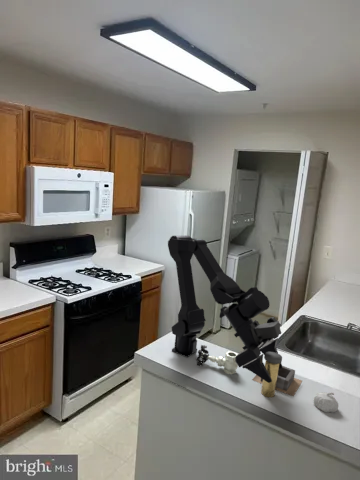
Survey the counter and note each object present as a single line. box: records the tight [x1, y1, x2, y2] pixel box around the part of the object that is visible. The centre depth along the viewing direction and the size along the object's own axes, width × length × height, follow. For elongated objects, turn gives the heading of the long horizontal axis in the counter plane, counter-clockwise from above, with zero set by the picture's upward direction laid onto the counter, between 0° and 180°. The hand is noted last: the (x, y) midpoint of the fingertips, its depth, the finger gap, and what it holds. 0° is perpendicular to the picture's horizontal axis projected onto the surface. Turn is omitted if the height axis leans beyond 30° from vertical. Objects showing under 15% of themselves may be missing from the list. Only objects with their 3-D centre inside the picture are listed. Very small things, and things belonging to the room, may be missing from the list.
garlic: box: [313, 392, 339, 413], centre depth 92 cm, size 6×5×5 cm
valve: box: [195, 344, 239, 376], centre depth 106 cm, size 7×7×12 cm
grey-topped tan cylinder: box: [260, 352, 283, 398], centre depth 95 cm, size 5×5×12 cm
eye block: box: [251, 365, 303, 397], centre depth 102 cm, size 12×10×4 cm
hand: (276, 374), depth 94 cm, fingers open, 9 cm apart
